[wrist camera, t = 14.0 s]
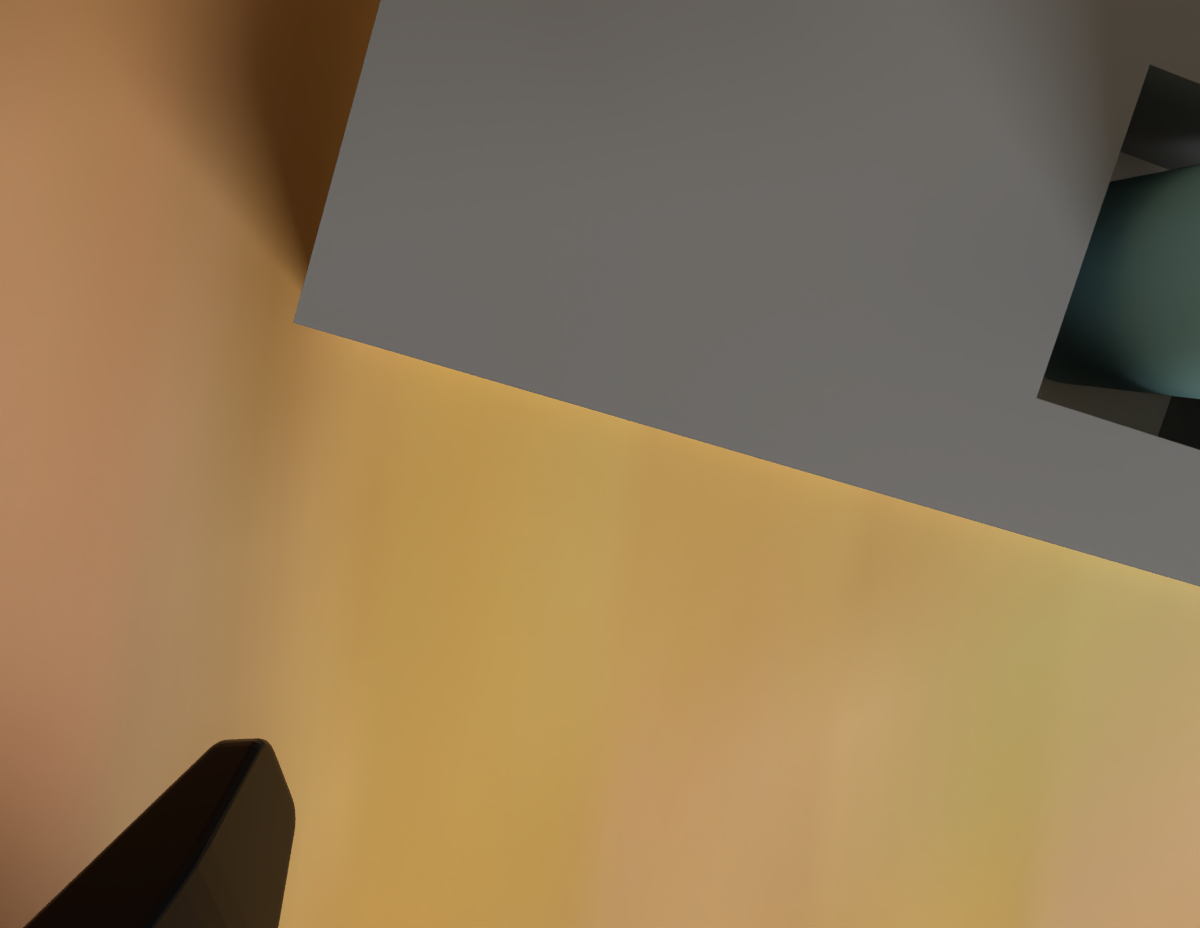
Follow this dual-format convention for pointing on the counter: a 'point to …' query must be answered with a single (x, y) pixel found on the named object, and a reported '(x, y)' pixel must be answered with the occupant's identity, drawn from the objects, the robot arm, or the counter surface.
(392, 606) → the counter surface
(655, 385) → the socket block
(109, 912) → the robot arm
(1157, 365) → the peg
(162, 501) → the counter surface
